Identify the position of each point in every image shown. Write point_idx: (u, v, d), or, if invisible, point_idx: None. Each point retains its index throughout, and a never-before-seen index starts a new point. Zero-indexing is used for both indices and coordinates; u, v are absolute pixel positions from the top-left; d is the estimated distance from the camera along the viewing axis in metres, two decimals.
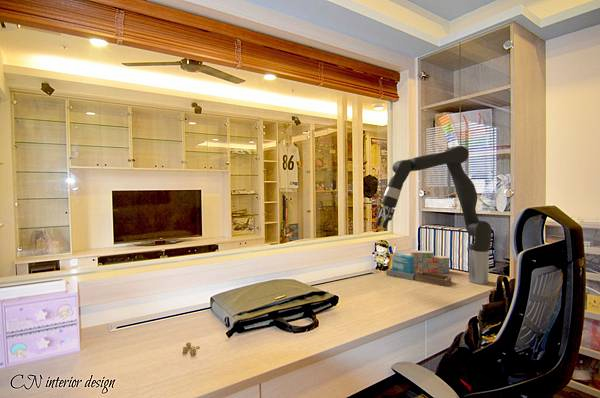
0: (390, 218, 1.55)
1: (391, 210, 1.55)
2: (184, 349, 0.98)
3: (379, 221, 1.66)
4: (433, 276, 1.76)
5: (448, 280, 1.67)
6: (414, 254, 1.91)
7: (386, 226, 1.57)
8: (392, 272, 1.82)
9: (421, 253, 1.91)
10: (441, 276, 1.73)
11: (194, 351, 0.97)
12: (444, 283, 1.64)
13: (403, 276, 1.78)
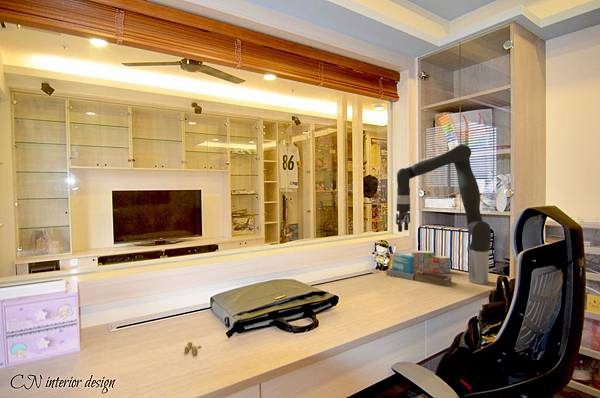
0: (398, 222, 1.77)
1: (397, 216, 1.78)
2: (186, 349, 0.98)
3: (406, 226, 1.86)
4: (433, 276, 1.76)
5: (448, 280, 1.67)
6: (415, 254, 1.91)
7: (400, 230, 1.78)
8: (392, 272, 1.82)
9: (422, 253, 1.91)
10: (441, 276, 1.73)
11: (196, 351, 0.97)
12: (444, 283, 1.64)
13: (403, 276, 1.78)
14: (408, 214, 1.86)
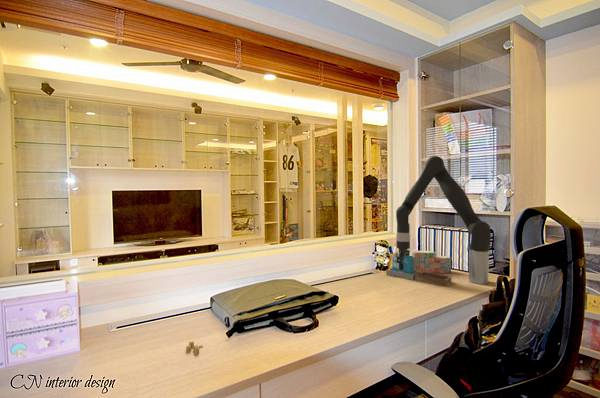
0: (399, 261, 1.79)
1: (397, 255, 1.78)
2: (187, 348, 0.98)
3: None
4: (433, 276, 1.76)
5: (448, 280, 1.67)
6: (416, 254, 1.91)
7: (401, 268, 1.80)
8: (392, 272, 1.82)
9: (423, 253, 1.90)
10: (441, 276, 1.73)
11: (197, 350, 0.97)
12: (444, 283, 1.64)
13: (403, 276, 1.78)
14: (408, 251, 1.87)
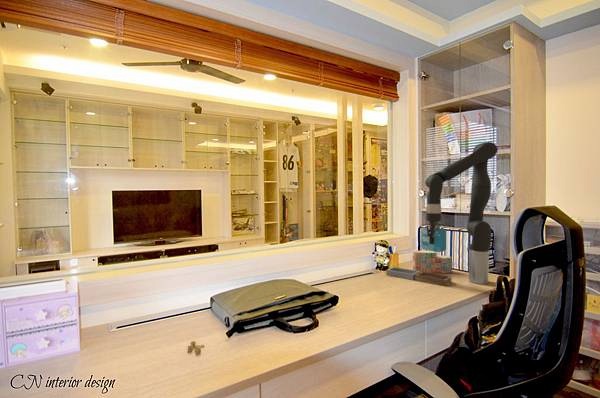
0: (430, 234, 1.67)
1: (428, 228, 1.67)
2: (189, 348, 0.98)
3: None
4: (433, 276, 1.76)
5: (448, 280, 1.67)
6: (417, 254, 1.91)
7: (432, 242, 1.68)
8: (392, 272, 1.82)
9: (424, 253, 1.90)
10: (441, 276, 1.73)
11: (199, 350, 0.97)
12: (444, 283, 1.64)
13: (403, 276, 1.78)
14: (438, 225, 1.75)
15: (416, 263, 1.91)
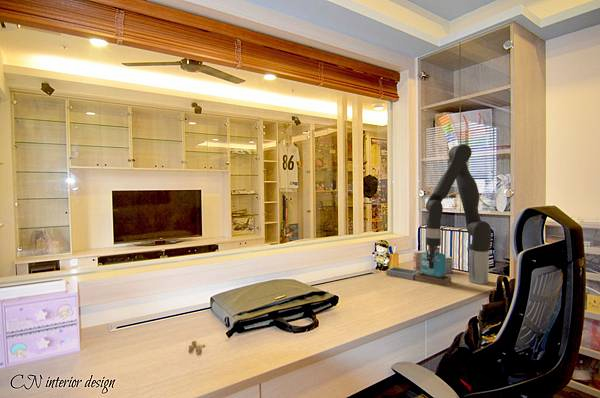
0: (430, 259, 1.67)
1: (428, 253, 1.67)
2: (190, 347, 0.99)
3: None
4: (433, 276, 1.76)
5: (448, 280, 1.67)
6: (418, 254, 1.91)
7: (431, 267, 1.69)
8: (392, 272, 1.82)
9: None
10: (441, 276, 1.73)
11: (200, 349, 0.98)
12: (444, 283, 1.64)
13: (403, 276, 1.78)
14: (437, 249, 1.75)
15: (417, 263, 1.91)
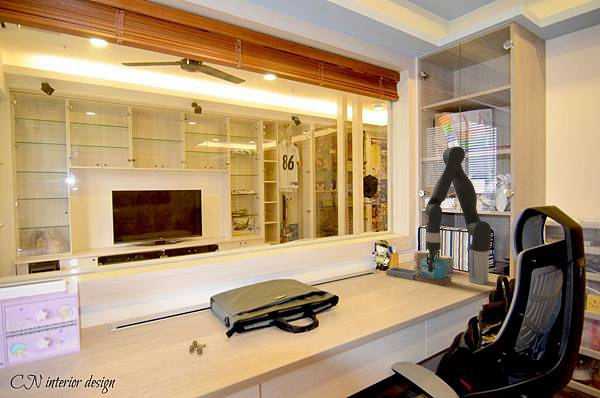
0: (429, 263, 1.67)
1: (428, 256, 1.67)
2: (191, 347, 0.99)
3: None
4: None
5: (448, 280, 1.67)
6: (418, 254, 1.91)
7: (431, 270, 1.68)
8: (392, 272, 1.82)
9: (425, 253, 1.90)
10: None
11: (201, 349, 0.98)
12: (444, 283, 1.64)
13: (403, 276, 1.78)
14: None
15: (417, 263, 1.91)
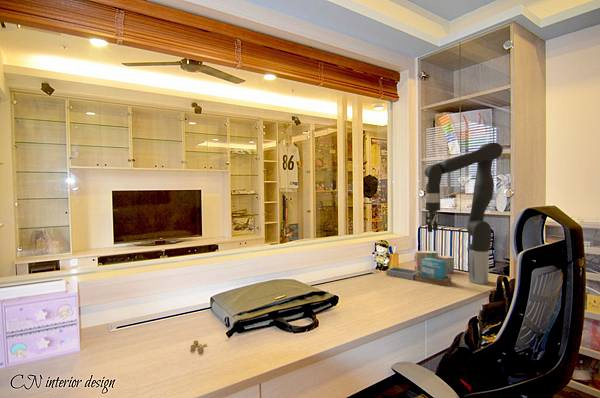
0: (429, 222, 1.67)
1: (427, 215, 1.67)
2: (192, 347, 0.99)
3: (435, 226, 1.75)
4: None
5: (448, 280, 1.67)
6: (419, 254, 1.91)
7: (430, 230, 1.68)
8: (392, 272, 1.82)
9: (426, 253, 1.90)
10: None
11: (202, 349, 0.98)
12: (444, 283, 1.64)
13: (403, 276, 1.78)
14: (437, 213, 1.76)
15: (418, 263, 1.91)
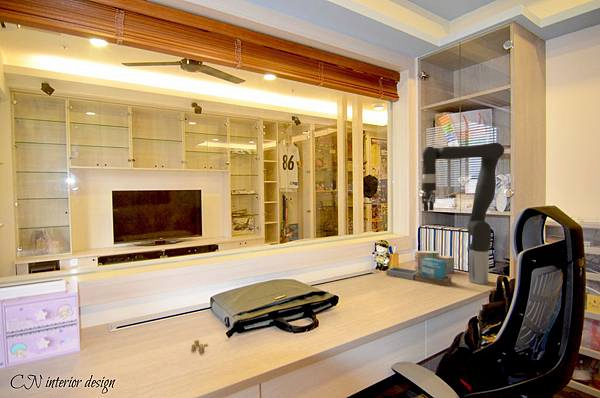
0: (425, 201, 1.74)
1: (423, 194, 1.75)
2: (193, 346, 0.99)
3: (431, 206, 1.83)
4: None
5: (448, 280, 1.67)
6: (420, 254, 1.90)
7: (426, 209, 1.75)
8: (392, 272, 1.82)
9: (426, 253, 1.90)
10: None
11: (203, 348, 0.98)
12: (444, 283, 1.64)
13: (403, 276, 1.78)
14: (433, 194, 1.83)
15: (418, 263, 1.91)
